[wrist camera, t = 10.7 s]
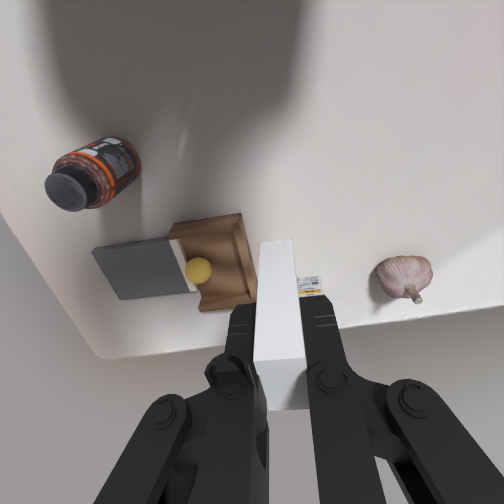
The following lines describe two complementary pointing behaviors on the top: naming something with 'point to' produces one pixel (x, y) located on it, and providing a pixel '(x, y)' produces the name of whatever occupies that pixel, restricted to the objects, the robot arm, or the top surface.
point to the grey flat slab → (145, 268)
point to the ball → (198, 270)
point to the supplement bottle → (92, 174)
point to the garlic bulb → (405, 276)
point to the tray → (220, 260)
